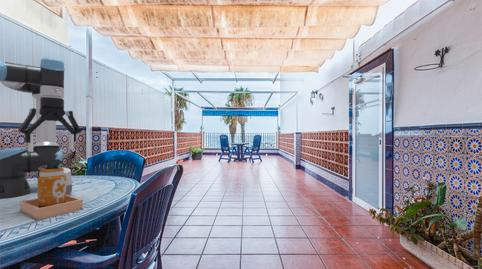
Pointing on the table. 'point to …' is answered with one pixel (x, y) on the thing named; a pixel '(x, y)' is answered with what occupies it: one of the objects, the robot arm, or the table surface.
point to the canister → (51, 183)
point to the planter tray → (50, 208)
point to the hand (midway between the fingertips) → (52, 150)
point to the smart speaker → (68, 180)
